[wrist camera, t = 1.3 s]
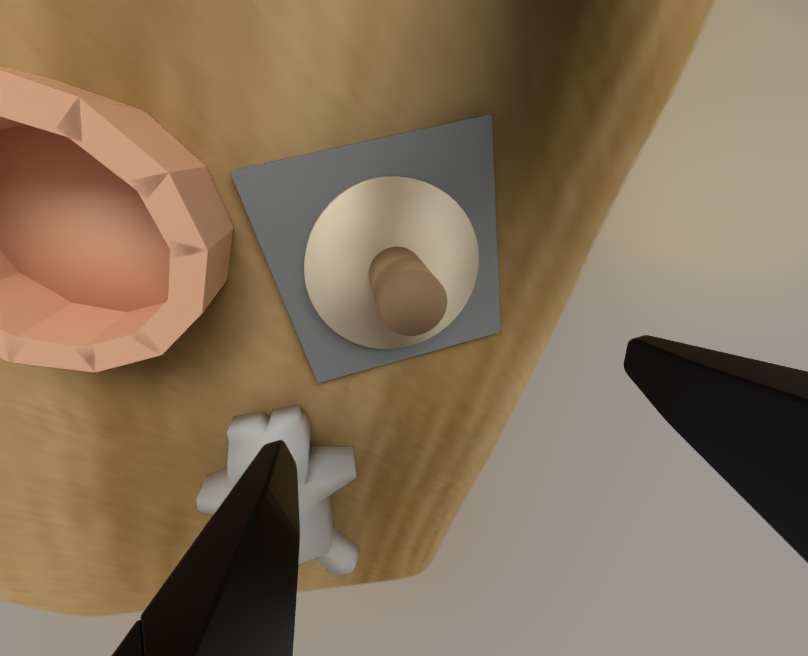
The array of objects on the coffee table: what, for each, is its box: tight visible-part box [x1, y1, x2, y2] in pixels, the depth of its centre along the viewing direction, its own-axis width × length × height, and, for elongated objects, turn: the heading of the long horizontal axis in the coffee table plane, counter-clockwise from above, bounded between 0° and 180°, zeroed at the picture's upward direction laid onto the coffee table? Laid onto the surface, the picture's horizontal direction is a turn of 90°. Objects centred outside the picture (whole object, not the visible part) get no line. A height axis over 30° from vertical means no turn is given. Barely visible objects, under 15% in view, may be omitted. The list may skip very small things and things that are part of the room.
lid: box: [304, 176, 479, 349], centre depth 16 cm, size 9×9×5 cm
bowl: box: [0, 66, 234, 373], centre depth 13 cm, size 10×10×4 cm
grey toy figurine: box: [196, 405, 360, 575], centre depth 22 cm, size 10×5×15 cm
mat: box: [230, 114, 501, 383], centre depth 18 cm, size 12×12×1 cm
